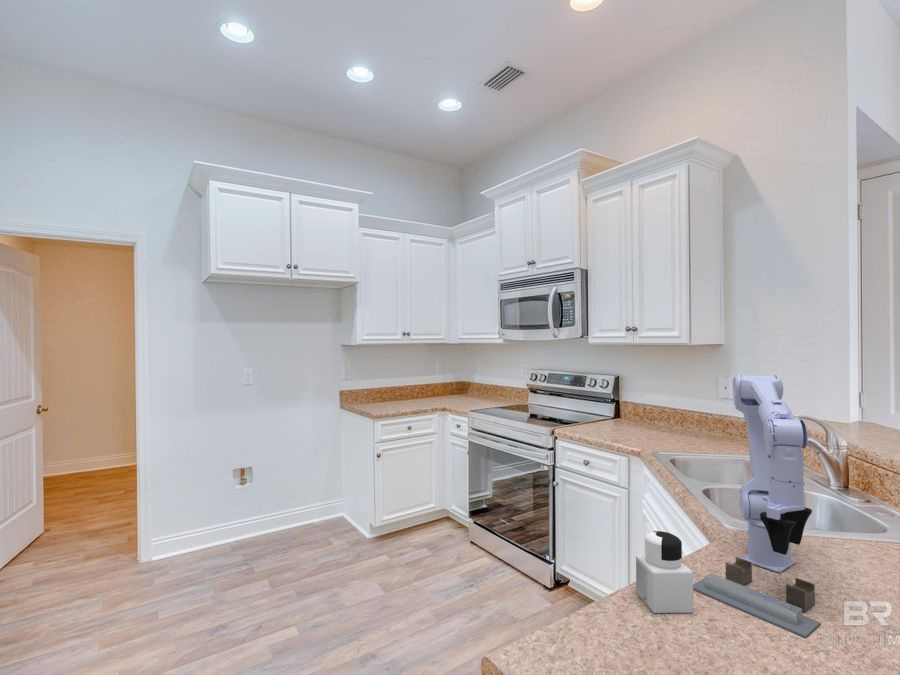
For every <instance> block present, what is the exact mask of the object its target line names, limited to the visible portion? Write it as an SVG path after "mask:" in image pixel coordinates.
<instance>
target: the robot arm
mask: <svg viewBox="0 0 900 675" xmlns="http://www.w3.org/2000/svg"><path fill="white" fill-rule="evenodd" d="M732 394H733V403H734V406H735V410H736V411H739V412H741V413H742V414H743V418H744V421H745V424H746V434H747V435H746V436H747V444H748V446H747V447H748V452H749V454H748V455H749V463H750V472H751V479H750V480H748V481H746V482H745V483H743V484H742V485H741V486H740V488H739V510H740V514H741V515H740V516H741V517H742V518H743V519H744V521H747V547H748V548H747V549H748V550H747V554H745V555H743V556H741V557H740V558H741V559H744V560H747V561H750V562H752V565H755V566H758V567H761V568H764V569H766V570H770V571H773V572H775V573H778V574H779V573H782V572H783V571H785V570H786V569H789V567H790V568H791V566H793V565H794V564H795V563H796V562H797V560H796V559H793V558H792V544H794V545H798V546H799V545H800V544H801V542H802V539H803V534H804V530H805V527H806V524H807V521H808V519H809V517H810V516H811V515H812V513H813V509H811V508H809V507H806V503H805V486H804V485H805V484H804V483H805V482H804V481H805V480H804V479H805V478H804V477H805V476H804V450H805V449H807V447H808V442H809V434H808V433H809V432H808V426H807V424H806V422H805V420H804V419H803V418H798V417H795V415H794V413H793V412H792V410H791V409H790V407H789V405H788V404H787V403H786V402H784V401H783V400H782V398H783V396H784V383H783V380H782V378H781V377H780V376H779V375H778V374H777V375H776V374H774V375H751V374H750V375H749V374H747V375H745V374H743V375H742V374H735V375H734V376H733V379H732Z"/></svg>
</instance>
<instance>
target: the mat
mask: <svg viewBox="0 0 900 675" xmlns="http://www.w3.org/2000/svg"><path fill="white" fill-rule="evenodd" d="M693 591H695V592H697V593H700V594H702V595H704V596H707V597H709V598H711V599H714V600H715V601H718V602H721V603H722V604H725V605H728V606H730V607H732V608H735V609H737V610H739V611H741V612H743V613H746V614H748V615H750V616H753V617H756V618H758V619H760V620H762V621H765V622H767V623H769V624H771V625H774V626H776V627H779V628H781V629H783V630H786V631H788V632H790V633H792V634H794V635H797V636H799V637H801V638H804V639H807V638H808V637H809V636H810V635H812V634H813V633H814V632H815V631H816V630H817V629H818V628H819V627H820V626H822V625H821V624H822V623H821V622H820V621H818V620H816V619H813V618H811V617H808V616H805V615H804V614H802V622H801V623H799V624H798V625H797V626H796V625H794V624H791V623H789V622H787V621H784V620H782V619H779V618H777V617H775V616H772V615H770V614H767V613H765V612H763V611H760V610H758V609H756V608H753V607H751V606H748V605H746V604H744V603H741V602H739V601H736V600H734V599H732V598H729V597H727V596H724V595H722V594H720V593H717V592H715V591H712V590H710V589H708V588H705V584H704V578H702V579H700V580H698V581H696V582H693Z"/></svg>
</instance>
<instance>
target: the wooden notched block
mask: <svg viewBox="0 0 900 675" xmlns="http://www.w3.org/2000/svg"><path fill="white" fill-rule="evenodd" d="M725 579H727V580H730V581H732V582H735V583H737V584H740V585H742V586H745V587H746V586H747V585H748V584H750V583H751V582H753V564H752V562H750V561H747V560H744V559H741V557H738V556H736V557H735V562H733V563H730V562H725Z"/></svg>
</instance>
